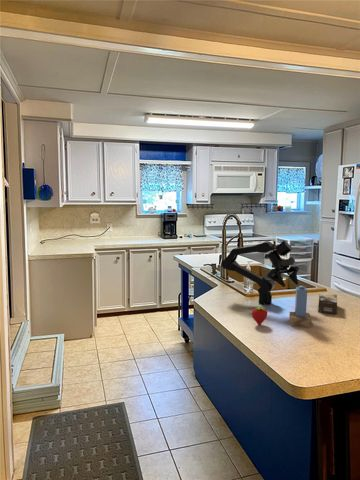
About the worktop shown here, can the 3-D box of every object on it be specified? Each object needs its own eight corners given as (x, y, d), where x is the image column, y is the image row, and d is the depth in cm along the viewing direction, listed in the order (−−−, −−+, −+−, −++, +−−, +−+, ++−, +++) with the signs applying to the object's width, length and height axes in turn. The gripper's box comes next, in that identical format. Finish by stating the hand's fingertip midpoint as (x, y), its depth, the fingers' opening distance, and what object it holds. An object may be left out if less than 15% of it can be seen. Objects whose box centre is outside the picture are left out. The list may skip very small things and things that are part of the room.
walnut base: (290, 325, 170) (291, 317, 170) (289, 319, 179) (289, 311, 179) (311, 327, 169) (311, 319, 168) (308, 320, 177) (309, 312, 177)
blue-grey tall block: (295, 316, 172) (297, 287, 170) (294, 313, 176) (296, 284, 174) (305, 317, 171) (307, 287, 169) (304, 314, 175) (306, 285, 173)
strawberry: (249, 323, 174) (249, 302, 173) (263, 321, 176) (264, 301, 174) (254, 327, 168) (254, 306, 167) (269, 326, 170) (270, 305, 169)
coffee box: (318, 303, 205) (317, 312, 190) (319, 292, 204) (318, 300, 189) (336, 305, 201) (336, 314, 186) (337, 294, 200) (337, 302, 186)
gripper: (271, 253, 188) (287, 279, 180) (297, 250, 197) (313, 275, 189) (260, 266, 196) (274, 291, 188) (286, 262, 205) (300, 286, 197)
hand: (291, 285), depth 190 cm, fingers open, 9 cm apart
